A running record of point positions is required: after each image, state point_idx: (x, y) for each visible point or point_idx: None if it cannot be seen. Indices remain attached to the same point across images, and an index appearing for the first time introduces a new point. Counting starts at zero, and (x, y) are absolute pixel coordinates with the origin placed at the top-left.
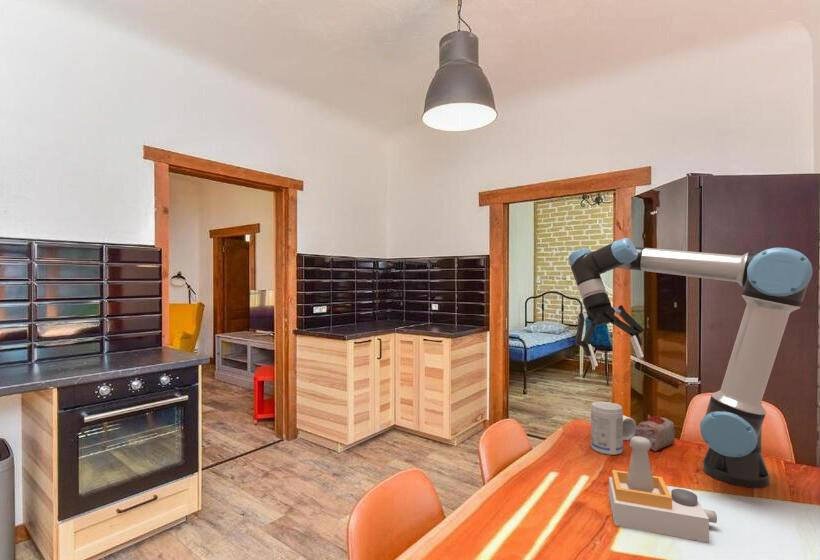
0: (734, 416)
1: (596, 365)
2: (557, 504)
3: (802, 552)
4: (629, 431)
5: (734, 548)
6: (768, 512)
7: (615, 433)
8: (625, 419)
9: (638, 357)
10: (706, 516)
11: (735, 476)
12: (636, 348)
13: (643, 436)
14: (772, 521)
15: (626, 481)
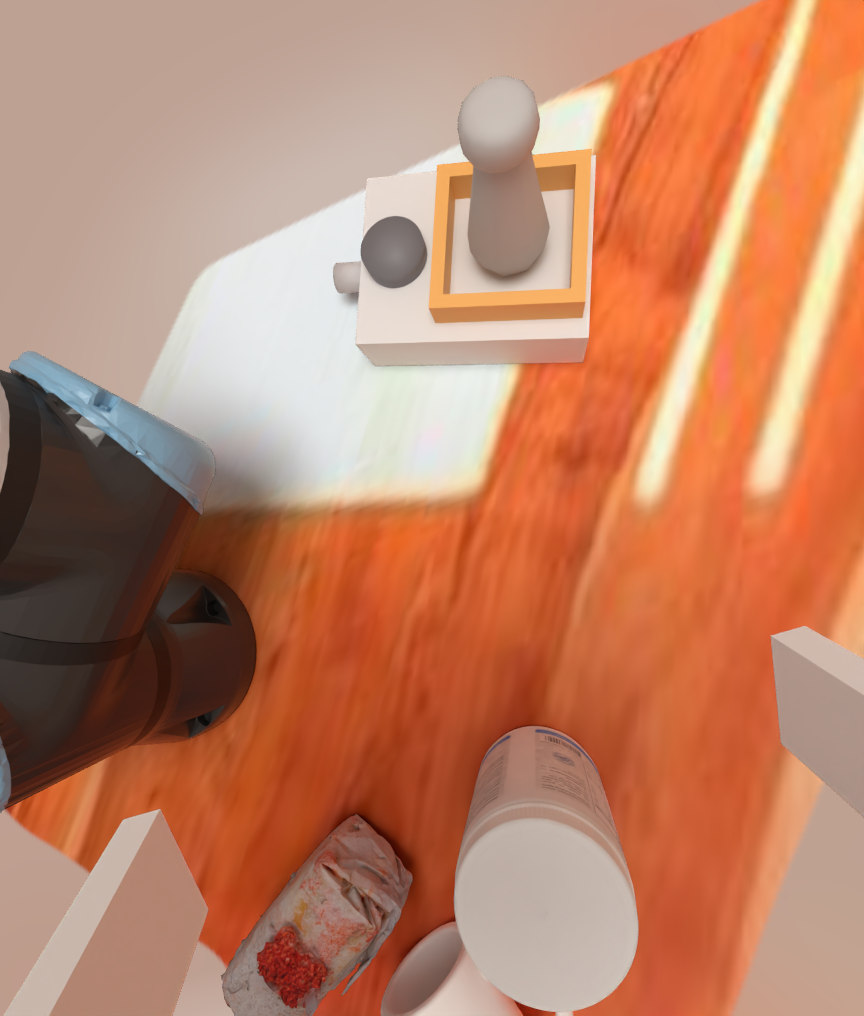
0: (32, 356)
1: (793, 631)
2: (749, 247)
3: (218, 263)
4: (416, 990)
5: (340, 218)
6: (201, 429)
7: (509, 762)
8: (426, 1002)
9: (190, 893)
10: (368, 189)
11: (193, 576)
12: (104, 1012)
13: (379, 865)
14: (213, 383)
15: (549, 226)
